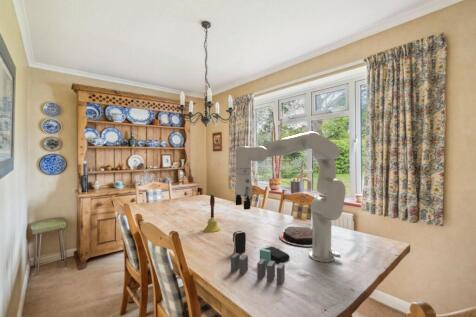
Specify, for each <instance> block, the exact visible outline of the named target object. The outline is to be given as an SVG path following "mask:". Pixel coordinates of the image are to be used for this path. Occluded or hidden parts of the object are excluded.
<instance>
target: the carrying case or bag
mask: <svg viewBox="0 0 476 317" xmlns="http://www.w3.org/2000/svg"><path fill="white" fill-rule="evenodd" d="M264 249H266V250H271V261H275V264H276V263H277V264H280V263H284V262H286V261H288V260H289V259H290V254H288V253H287V252H286V251H283V250H281V249H280V248H277V247H274V246H268V247H265V248H264Z"/></svg>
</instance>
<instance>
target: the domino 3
mask: <svg viewBox="0 0 476 317" xmlns="http://www.w3.org/2000/svg"><path fill="white" fill-rule="evenodd" d="M261 259H266V266H267V265H268V263H269V262H270V261H272V260H271V250H266V249H265V248H260V249H259V261H260V260H261Z"/></svg>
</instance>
